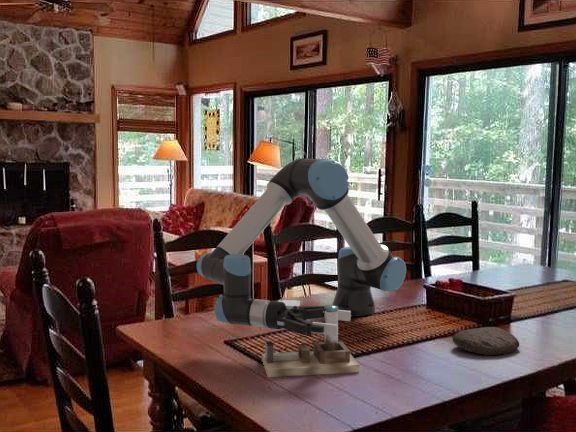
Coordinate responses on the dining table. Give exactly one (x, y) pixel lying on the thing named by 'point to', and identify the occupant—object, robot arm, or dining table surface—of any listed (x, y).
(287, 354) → the lock pin
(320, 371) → the dock
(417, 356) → the dining table surface
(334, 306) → the silver cylinder
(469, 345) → the decorative stone
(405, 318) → the dining table surface
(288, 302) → the small box
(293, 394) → the dining table surface
